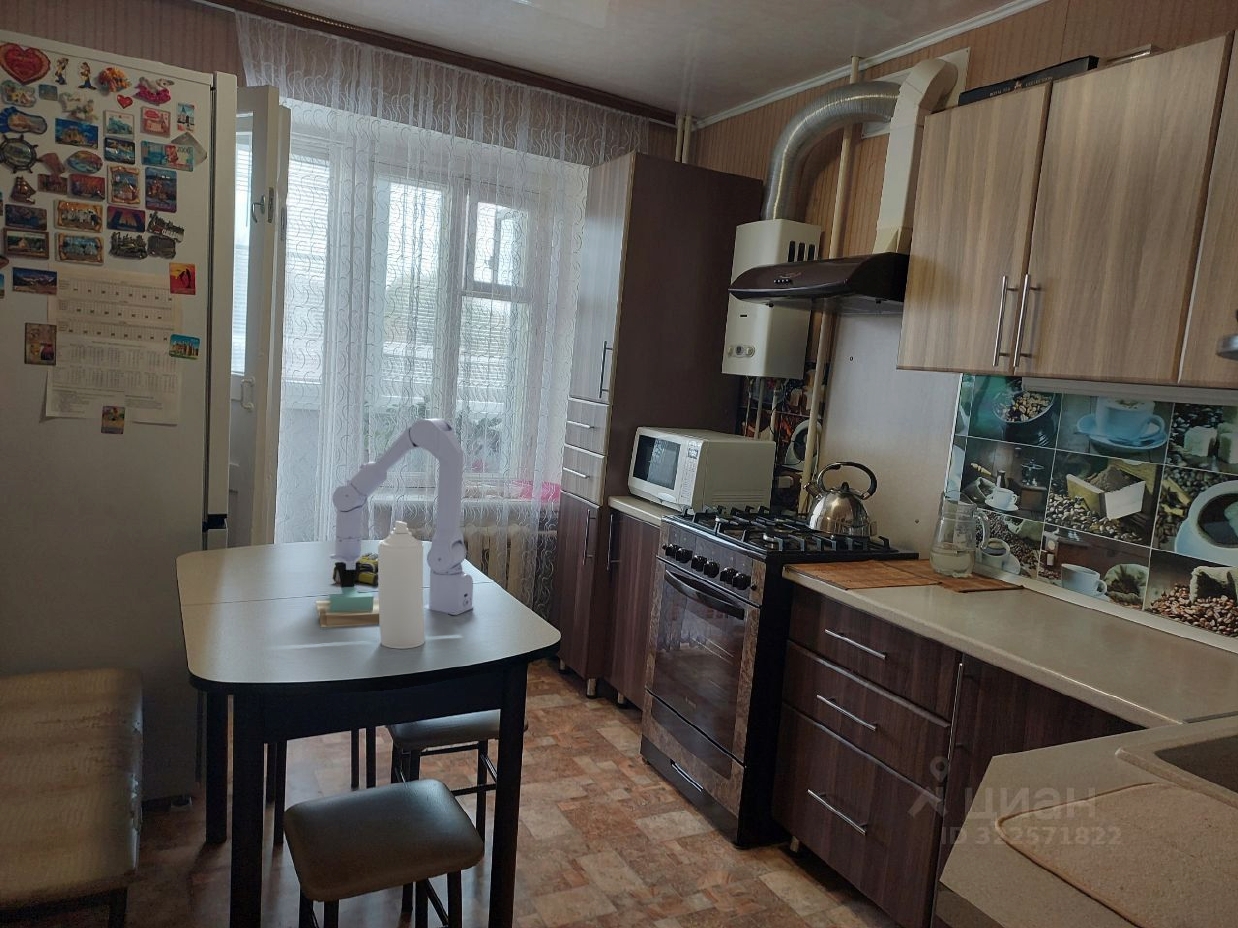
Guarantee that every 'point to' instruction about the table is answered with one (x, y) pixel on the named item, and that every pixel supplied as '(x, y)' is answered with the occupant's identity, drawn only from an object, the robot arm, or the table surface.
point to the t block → (351, 600)
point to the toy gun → (364, 570)
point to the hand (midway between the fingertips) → (347, 593)
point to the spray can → (401, 589)
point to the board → (347, 615)
